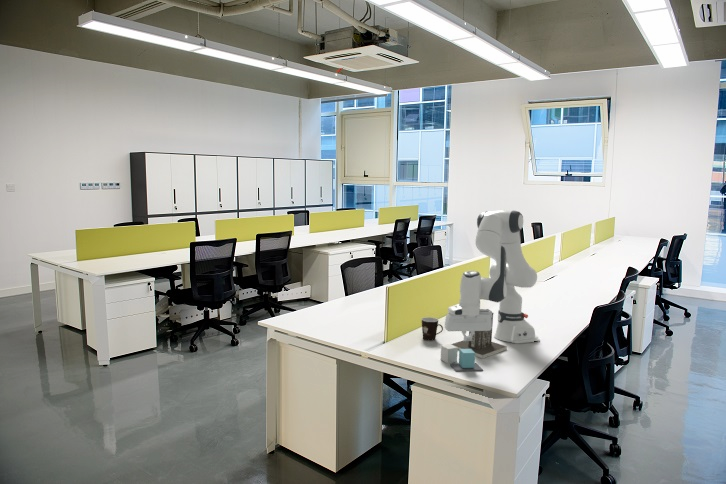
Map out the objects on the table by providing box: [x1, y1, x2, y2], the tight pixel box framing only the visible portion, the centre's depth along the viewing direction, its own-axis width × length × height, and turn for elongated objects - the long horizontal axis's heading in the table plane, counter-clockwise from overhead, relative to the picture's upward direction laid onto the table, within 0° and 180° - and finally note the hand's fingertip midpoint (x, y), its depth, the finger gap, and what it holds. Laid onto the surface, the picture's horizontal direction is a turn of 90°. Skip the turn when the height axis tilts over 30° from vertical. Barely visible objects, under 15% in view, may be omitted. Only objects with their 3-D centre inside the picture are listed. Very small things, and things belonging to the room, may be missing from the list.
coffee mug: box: [421, 316, 444, 342], centre depth 251 cm, size 12×9×10 cm
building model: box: [451, 312, 508, 359], centre depth 238 cm, size 20×20×18 cm
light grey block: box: [440, 343, 459, 364], centre depth 222 cm, size 5×5×7 cm
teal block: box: [458, 349, 476, 368], centre depth 214 cm, size 5×5×7 cm
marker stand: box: [449, 362, 484, 373], centre depth 214 cm, size 12×8×7 cm, turn 98°
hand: (467, 340), depth 213 cm, fingers closed
